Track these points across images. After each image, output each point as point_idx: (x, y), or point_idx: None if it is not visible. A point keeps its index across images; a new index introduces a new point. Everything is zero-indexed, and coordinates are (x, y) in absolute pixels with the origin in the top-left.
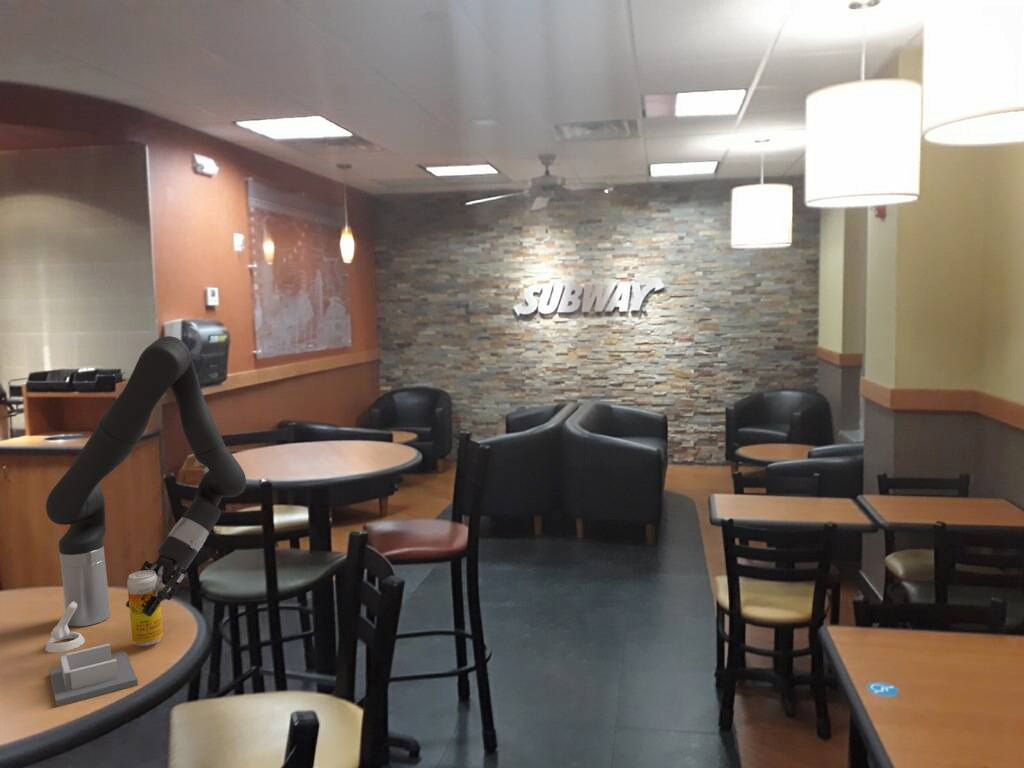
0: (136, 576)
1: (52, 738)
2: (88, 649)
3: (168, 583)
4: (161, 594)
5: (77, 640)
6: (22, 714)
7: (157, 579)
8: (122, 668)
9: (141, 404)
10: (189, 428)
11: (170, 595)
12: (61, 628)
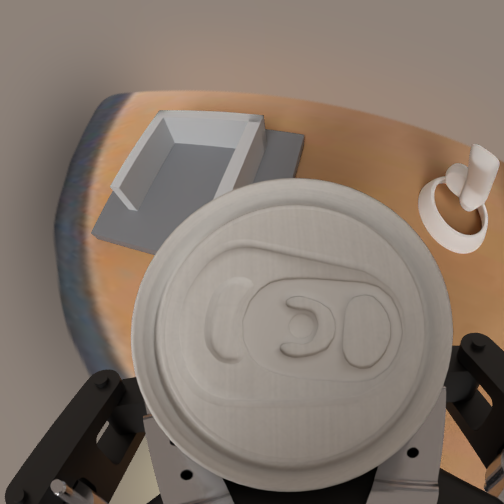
0: (310, 259)
1: (93, 123)
2: (236, 158)
3: (68, 435)
4: (100, 373)
5: (437, 222)
6: (185, 100)
7: None
8: (159, 230)
9: None
10: None
11: (115, 429)
12: (463, 179)
